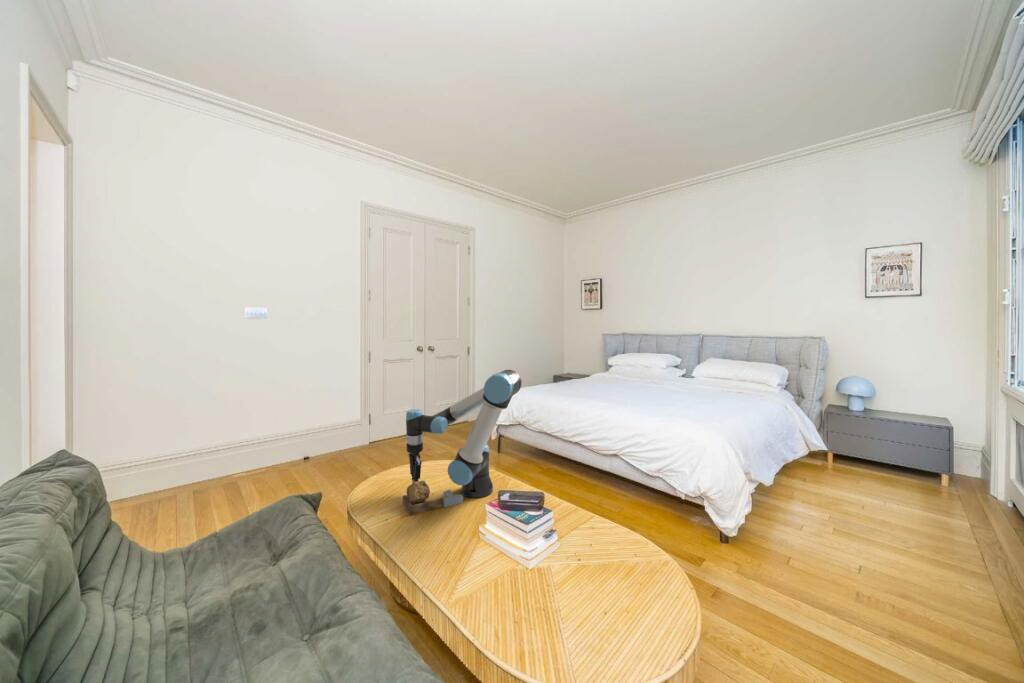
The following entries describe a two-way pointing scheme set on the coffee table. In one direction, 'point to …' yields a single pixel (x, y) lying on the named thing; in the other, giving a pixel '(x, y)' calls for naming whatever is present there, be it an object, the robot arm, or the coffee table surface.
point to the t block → (452, 499)
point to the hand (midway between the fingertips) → (415, 491)
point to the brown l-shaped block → (422, 505)
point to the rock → (418, 492)
